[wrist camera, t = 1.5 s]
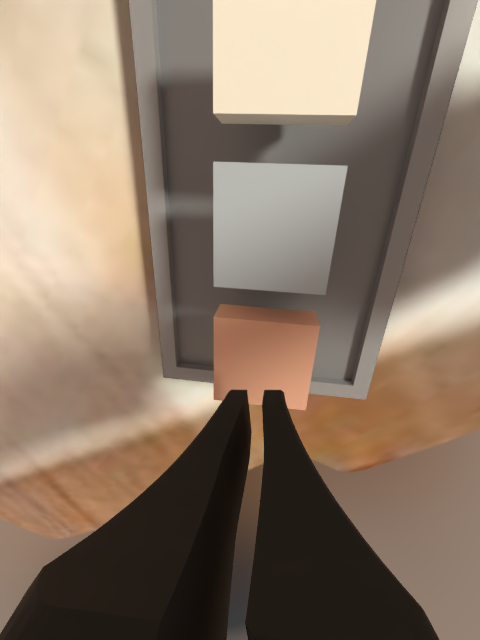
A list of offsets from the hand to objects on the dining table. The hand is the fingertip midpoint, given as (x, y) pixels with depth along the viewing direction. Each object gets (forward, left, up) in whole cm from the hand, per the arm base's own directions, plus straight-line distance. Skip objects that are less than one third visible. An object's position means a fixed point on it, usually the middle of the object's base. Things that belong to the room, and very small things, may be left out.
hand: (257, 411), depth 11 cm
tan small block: (0, 0, -7) cm, 7 cm away
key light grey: (0, -6, -7) cm, 9 cm away
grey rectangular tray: (0, -6, -9) cm, 11 cm away
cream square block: (0, -12, -7) cm, 14 cm away
